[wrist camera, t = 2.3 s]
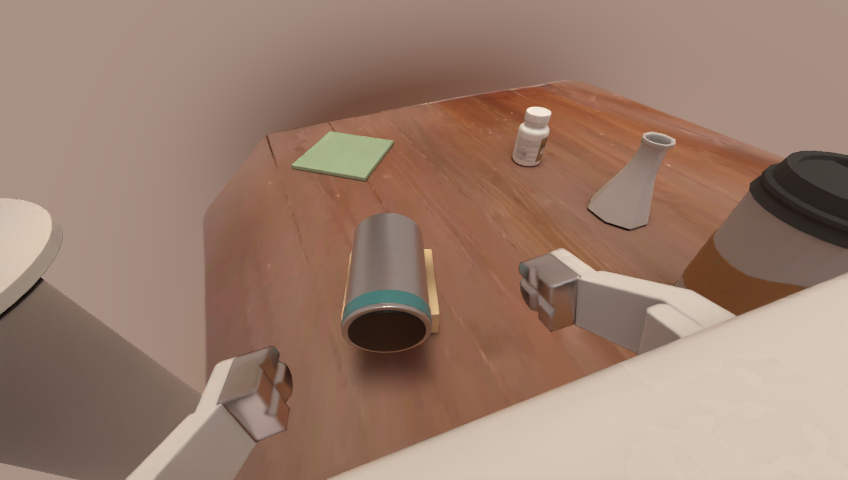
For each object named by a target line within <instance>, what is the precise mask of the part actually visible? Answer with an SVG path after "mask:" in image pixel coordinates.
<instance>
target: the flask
mask: <svg viewBox="0 0 848 480" xmlns="http://www.w3.org/2000/svg"><path fill="white" fill-rule="evenodd" d="M675 140H676V139H674V138H672V137H669V136H667V135H665V134H661V133H656V132H648V133H644V134H643V136H642V140H641V145H640V147H639V149H638V151H637V152H636V153H635V155H634V156H633V157H632V158H631V160H630V161H629V162H628V163H627V165H626V166H625V167H623V168H622V169H621V170H620V171H619V172H618V173H617V174H616V175H615V176H614V177H613V178H612V179H611V180H610V181H609V182H607V183H606V184H605V185H604V186H603V187H602V188H601V189H600V190H598V191H597V192H596V193H595V194H594V195H593V196H592V197H591V200H590V203H589V206H588V208H589V209H590V210H591V211H592V212H594V213H595V214H596V215H597V216H599V217H600V218H601V219H602V220H604V221H605V222H608V223H612V224H615V225H618V226H621V227H624V228H627V229H633V228H636V227H639V226H642V225H645V224H647V223H648V218H649V212H650V205H651V199H652V193H653V188H654V183H655V178H656V175H657V172H658V169H659V167H660V164H661V161H662V159H663V158H664V156H665V154H666V153H667V151H668V150H669V149H672V148H673V147H674V146H675Z"/></svg>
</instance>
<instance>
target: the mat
mask: <svg viewBox="0 0 848 480" xmlns="http://www.w3.org/2000/svg"><path fill="white" fill-rule="evenodd" d="M393 144H394V141H392V140H386V139H379V138H372V137H365V136H358V135H351V134H344V133H337V132H329V133H328V134H327V135H325V136H324V137H323V138H322V139H321V140H320V141H319V142H317V143H316V144H315V145H314V146H313V147H312V148H310V149H309V150H308V151H307V152H306V153H305V154H304V155H302V156H301V157H300V158H299V159H298V160H297V161H296V162H294V163H293V164H292V168H293V169H299V170H305V171H310V172H316V173H322V174H327V175H333V176H339V177H345V178H350V179H356V180H362V181H366V180H367V179H368V177H369V176H370V175H371V173H372V172H373V171H374V169H375V168H376V167H377V165H378V164H379V163H380V161H381V160H382V159H383V157H384V156H385V155H386V153H387V152H388V151H389V149H390V148H391V147H392V145H393Z"/></svg>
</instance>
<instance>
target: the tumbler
mask: <svg viewBox="0 0 848 480" xmlns="http://www.w3.org/2000/svg"><path fill="white" fill-rule="evenodd" d="M341 328H342V335H343V337H344V339H345V340H346V341H347V342H348V343H350V344H351V345H353V346H355V347H357V348H359V349H362V350H366V351H370V352H379V353H391V352H399V351H404V350H408V349H411V348H414V347H416V346H418V345H420V344H421V343H423V342H424V341H426V340H427V338H428V337H429V336H430V334H431V331H432V317H431V310H430V304H429V294H428V284H427V274H426V264H425V255H424V245H423V235H422V231H421V229H420V228H419V226H418V225H417V224H416V223H415V222H414V221H413V220H411V219H410V218H408V217H406V216H403V215H400V214H395V213H381V214H376V215H373V216H370V217H368V218H367V219H365V220H364V221H362V222H361V223H360V224H359V225H358V227H357V228H356V230H355V233H354V239H353V247H352V254H351V262H350V269H349V277H348V285H347V292H346V300H345V307H344V311H343V316H342V324H341Z"/></svg>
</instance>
